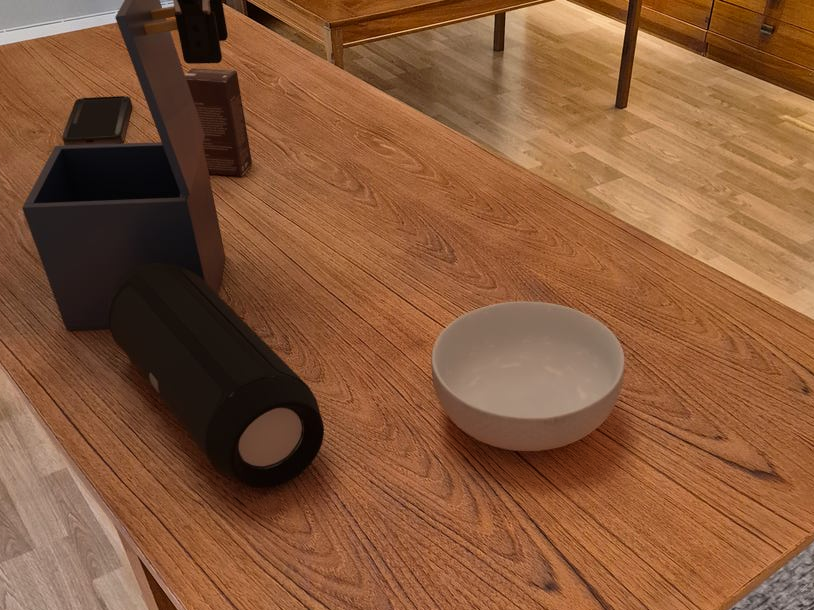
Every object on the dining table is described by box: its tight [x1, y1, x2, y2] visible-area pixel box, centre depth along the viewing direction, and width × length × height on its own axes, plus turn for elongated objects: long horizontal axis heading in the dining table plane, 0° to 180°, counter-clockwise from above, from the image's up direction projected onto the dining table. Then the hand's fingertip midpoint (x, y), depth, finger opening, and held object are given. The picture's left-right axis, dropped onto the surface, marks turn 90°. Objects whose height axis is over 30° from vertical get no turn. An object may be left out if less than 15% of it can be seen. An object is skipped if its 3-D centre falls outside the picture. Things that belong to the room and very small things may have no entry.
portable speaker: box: [108, 263, 325, 490], centre depth 77 cm, size 26×10×10 cm, turn 37°
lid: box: [114, 0, 205, 197], centre depth 81 cm, size 15×14×6 cm
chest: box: [21, 141, 226, 332], centre depth 91 cm, size 15×14×13 cm
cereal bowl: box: [430, 301, 626, 452], centre depth 78 cm, size 17×17×7 cm
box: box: [184, 67, 253, 177], centre depth 113 cm, size 6×4×12 cm
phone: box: [61, 95, 133, 146], centre depth 126 cm, size 8×1×15 cm
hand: (206, 48), depth 79 cm, fingers closed on lid, 5 cm apart
